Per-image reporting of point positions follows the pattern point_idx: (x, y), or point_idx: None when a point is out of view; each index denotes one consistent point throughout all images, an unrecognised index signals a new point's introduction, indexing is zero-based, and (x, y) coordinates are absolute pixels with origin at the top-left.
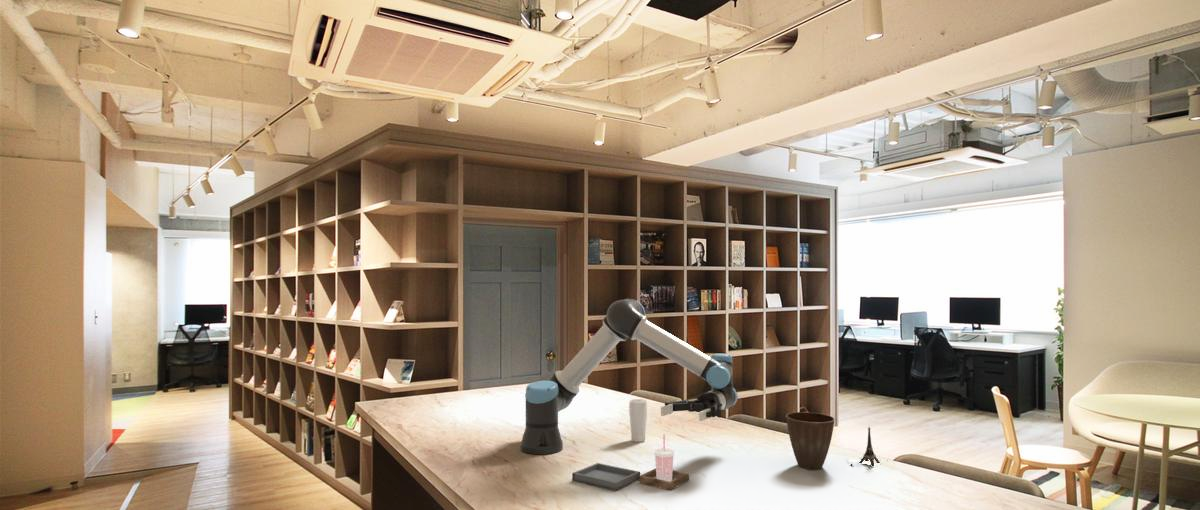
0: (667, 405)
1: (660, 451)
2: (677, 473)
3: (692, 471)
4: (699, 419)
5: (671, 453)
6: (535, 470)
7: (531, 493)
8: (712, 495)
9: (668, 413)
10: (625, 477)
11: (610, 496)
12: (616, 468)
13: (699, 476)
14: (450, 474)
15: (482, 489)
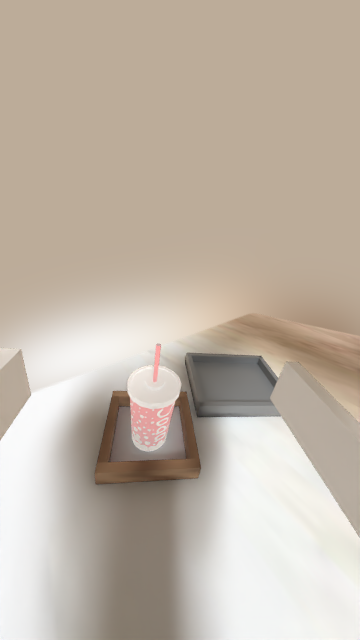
0: (350, 420)
1: (164, 381)
2: (130, 462)
3: (115, 619)
4: (27, 387)
5: (129, 377)
6: (326, 370)
7: (241, 330)
8: (17, 419)
9: (310, 456)
10: (195, 372)
11: (177, 349)
12: (250, 402)
13: (70, 559)
14: (334, 333)
15: (275, 324)
